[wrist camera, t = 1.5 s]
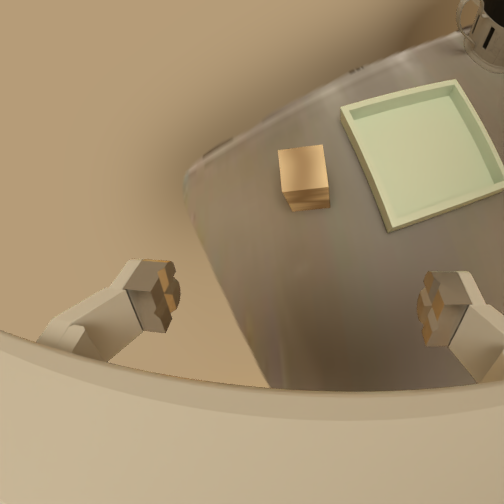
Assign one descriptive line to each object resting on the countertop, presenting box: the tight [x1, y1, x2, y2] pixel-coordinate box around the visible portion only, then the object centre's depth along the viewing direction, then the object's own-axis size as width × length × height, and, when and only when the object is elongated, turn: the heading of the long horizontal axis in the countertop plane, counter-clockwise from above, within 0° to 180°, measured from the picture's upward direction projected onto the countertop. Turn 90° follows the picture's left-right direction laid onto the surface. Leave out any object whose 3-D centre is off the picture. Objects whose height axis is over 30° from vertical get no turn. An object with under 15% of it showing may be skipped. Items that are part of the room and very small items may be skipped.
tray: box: [340, 79, 504, 233], centre depth 33 cm, size 18×16×4 cm
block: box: [278, 145, 330, 212], centre depth 34 cm, size 4×4×8 cm
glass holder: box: [456, 0, 504, 73], centre depth 26 cm, size 9×14×15 cm, turn 105°
